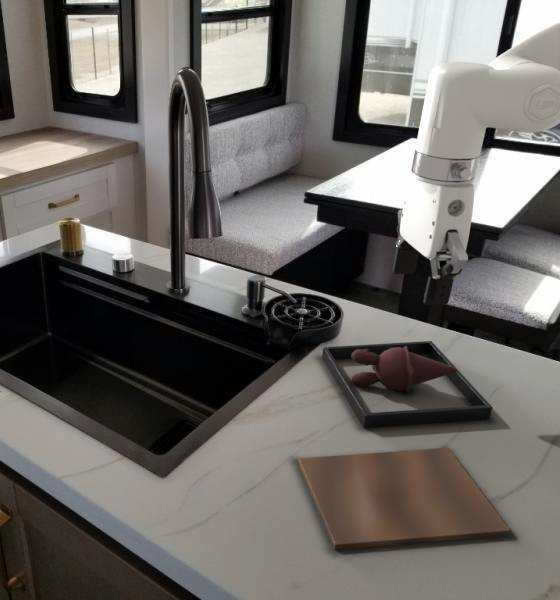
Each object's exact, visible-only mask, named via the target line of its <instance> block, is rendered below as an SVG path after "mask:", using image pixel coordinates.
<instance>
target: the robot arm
mask: <svg viewBox="0 0 560 600" xmlns="http://www.w3.org/2000/svg"><path fill="white" fill-rule="evenodd" d="M424 95H425V96H424V100H423V106H422V111H421V117H420V123H419V128H418V134H417V138H416V142H415V143H416V144H415V150H414V153H413V154H414V155H413V158H412V159H413V160H412V165H411V170H410V177H411V178H410V181H409V185H408V186H407V192H406V195H405V199H404V203H403V208H402V209H399V210H398V211H397V221H398V222H397V224H398V225H397V227H396V231H397V236H398V237H397V238H396V240H395V245H396V250H395V255H394V261H393V266H392V273H393V274H395V275H412V274H415V272H416V269H417V264H418V259H419V254H421V255H422V256H423V257H424V258H426V259H428V260H429V263H430V268H431V275H429V276H428V278H427V282H426V286H425V292H424V296H423V304H424V305H426V306H445V305H447V304H448V303H449V302H450V299H451V298H450V297H451V294H452V288H453V284H454V281H455V280H456V279H457V278H458V276H459V275H460V274H461V273H462V272H463V268H464V267H465V265H466V264H467V262H468V260H469V255H468V253H467V247H468V242H469V236H470V231H471V225H472V221H473V219H472V218H473V213H474V212H473V211H474V201H475V200H474V199H475V185H474V184H473V183H474V181H475V178H476V173H477V169H478V164H479V160H480V156H481V151H482V148H483V142H484V139H485V134H486V129H487V128H492V129H499V130H505V131H510V132H517V133H525V134H534V133H540V132H544V131H547V130H549V129H551V128H554V127H556V126H557V125H559V124H560V20H559V21H556V22H554V23H553V24H550V25H548V26H546V27H545V28H542V29H541V30H539V31H537V32H535V33H534V34H532V35H531V36H529V37H527V38H525V39H524V40H522V41H521V42H519V43H516V45H514V46H513V47H510V49H507V50H506V51H505V52H503V53H501V54H500V55H498V56H497V57H495V58H494V59H493V60H491V61H490V62H489V63H488V64H484V63H479V62H469V61H450V62H442V63H439V64H437V65H435V66H434V67H433V68H432V69H431V72H430V73H429V76H428V81H427V84H426V90H425V94H424ZM443 252H445V253H443ZM442 261H444V262H446V264H444V266H442V267H441V266H440V265H441V264H440V262H442Z"/></svg>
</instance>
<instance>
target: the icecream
mask: <svg viewBox="0 0 560 600" xmlns="http://www.w3.org/2000/svg"><path fill="white" fill-rule="evenodd" d="M351 357H352V359H351V360H352V361H353V362H354V363H356V364H359V365H364V366H371V369H372V371H362V372H358V373H355V374H354V375H353V376H352V377H351V383H352V385H354V386H356V387H368V386H373V385H375V384H377V383H381V384H382V386H384V387H385V388H387V389H389V390H391V391H398V392H402V391H405V392H407V393H409V392H410V391H411V387H412V386H416V385H419V384H422V383H426V382H429V381H432V380H435V379H438V378H441V377H447V376H446V375H449V374H453V373H456V372H457V369H458V368H457V367H456V368H454V367H452V366H449V365H446V364H443V363H440V362H437V361H434V360H432V359H431V358H430V357H429V358H428V357H426V356H423V355H417V354H414V353H411V352H408V347H407V346H405V347H404V348H400V347H397V348H390V349H388V350H386V351H384V352H383V353H382V354H381V355H377V354H375V353H372V352H370V351H369V350H368V349H364V350H362V349H358V350H355V351H354V352H353V353H352V355H351Z"/></svg>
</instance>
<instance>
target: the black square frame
mask: <svg viewBox="0 0 560 600" xmlns="http://www.w3.org/2000/svg"><path fill="white" fill-rule="evenodd" d="M405 346H407V347H408V352H411V353H414V354H417V355H420V356H422V355H427V356H428V357H429V359H431V360H434V361H437V362H440V363H443V364H446V365H449V366H452V367H454V368H457V367H456V366H455V364H453V363H452V362H451V360H450V359H448V357H447V356H446V355H445V354H444V353H443V352H442V350H440V349H439V347H438V346H437V345H436V344H435V343H434V342H433V341H432V340H427V341H426V340H423V341H406V342H405V341H404V342H389V343H388V342H387V343H373V344H354V345H338V346H337V345H336V346H324V347H323V348H322V356H321V360H322V361H323V363H324V364H325V366H326V367H327V370H328V371H329V373H330V374H331V376H332V378H333V380H334V381H335V383H336V385H337V386H338V388H339V390H340V392H341V393H342V395H343V396H344V398H345V400H346V402H347V403H348V405H349V407H350V408H351V410H352V411H353V414H354V415H355V417H356V418H357V421H358V422H359V424H360V425H361V427H362V428H363V429H374V428H375V429H376V428H388V427H405V426H419V425H433V424H448V423H462V422H463V423H464V422H477V421H478V422H479V421H489V420H490V418H491V415H492V412H493V406H492V405H491V404H490V403H489V402H488V401H487V399H486V398H485V397H484V396H483V395H482V394H481V393H480V392H479V390H478V389H477V388H475V386H473V384H472V383H471V382H470V381H469V380H468V379H467V378H466V376H464V375H463V373H462V372H461V371H459V369H458V368H457V372H456V373H453V374H449V375H446V376H445V377H447V378H448V379H449V381H450V382H451V383H452V384H453V385H454V387H455V388H456V389H457V390H458V391H459V392H460V394H462V395H463V397H464V398H465V399H466V400H467V401H468V403H470V405H467V406H453V407H441V408H440V407H437V408H423V409H409V410H407V409H406V410H393V411H378V412H377V411H375V412H368V411H367V409H366V407H365V406H364V404H363V403H362V401H361V399H360V398H359V397H358V394H357V393H356V391H355V390H354V388H353V386H352V385H351V384H350V382H349V380H348V379H347V377H346V376H345V374H344V372H343V370H342V369H341V367H340V366H339V364H338V363H337V361H336V360H350V359H351V360H353V359H352V357H351V355H352V353H353V352H354V351H355V350H358V349H362V350H364V349H368V350H369V351H370V352H372V353H375V354H377V355H381V354H382V353H383V352H384V351H386V350H388V349H390V348H397V347H400V348H404V347H405Z"/></svg>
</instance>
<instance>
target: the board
mask: <svg viewBox="0 0 560 600" xmlns="http://www.w3.org/2000/svg"><path fill="white" fill-rule="evenodd" d="M297 462H298V465H299V468H300V471H301V472H302V476H303V477H304V480H305V483H306V485H307V488H308V490H309V492H310V494H311V495H310V496H311V497H312V500H313V502H314V504H315V506H316V509H317V511H318V513H319V516H320V518H321V521H322V523H323V525H324V528H325V531H326V533H327V535H328V538H329V540H330V542H331V545H332V547H333V550H334V551H335V550H346V549H359V548H370V547H372V548H373V547H383V546H395V545H409V544H421V543H433V542H444V541H459V540H470V539H481V538H493V537H504V536H505V537H507V536H510V533H511V529H510V527H509V526H508V525H507V523H506V522H505V521H504V520H503V518H502V517H501V516H500V514H499V513H498V512H497V510H496V509H495V508H494V506H493V505H492V503H491V502H490V501H489V500H488V498H487V497H486V495H485V494H484V493H483V492H482V490H481V489H480V488H479V486H478V485H477V483H476V482H475V481H474V479H473V478H472V477H471V475H470V474H469V473H468V472H467V470H466V469H465V467H464V466H463V465H462V464H461V462H460V461H459V460H458V458H457V457H456V455H455V454H454V453H453V451H452V450H451V449H450V448H449V447H441V448H428V449H427V448H426V449H425V448H424V449H414V450H413V449H411V450H397V451H383V452H371V453H358V454H355V453H354V454H342V455H340V454H339V455H329V456H328V455H327V456H313V457H299V458H298V461H297Z"/></svg>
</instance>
